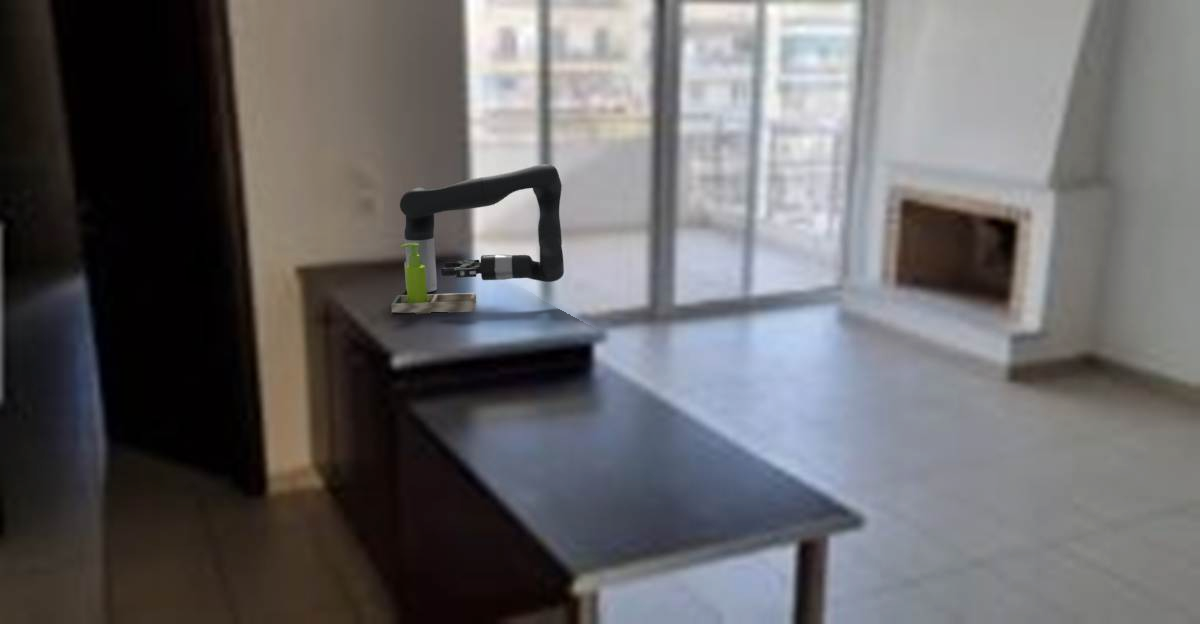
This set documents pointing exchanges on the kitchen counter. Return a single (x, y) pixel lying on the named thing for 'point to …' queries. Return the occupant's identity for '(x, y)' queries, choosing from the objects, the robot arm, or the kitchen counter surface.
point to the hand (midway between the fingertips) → (443, 269)
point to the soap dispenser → (415, 277)
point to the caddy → (437, 303)
